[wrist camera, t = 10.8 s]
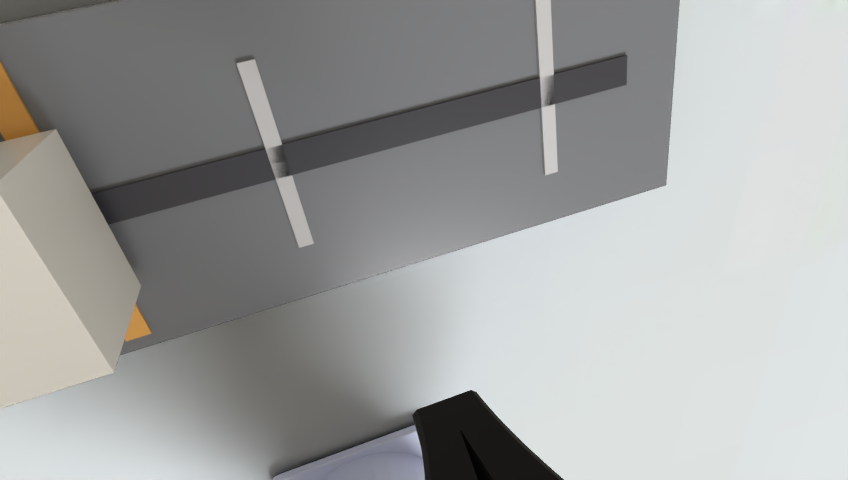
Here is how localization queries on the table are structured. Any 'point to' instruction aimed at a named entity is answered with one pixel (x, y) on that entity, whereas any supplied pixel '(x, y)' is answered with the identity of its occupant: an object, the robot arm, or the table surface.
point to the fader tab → (56, 274)
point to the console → (335, 132)
